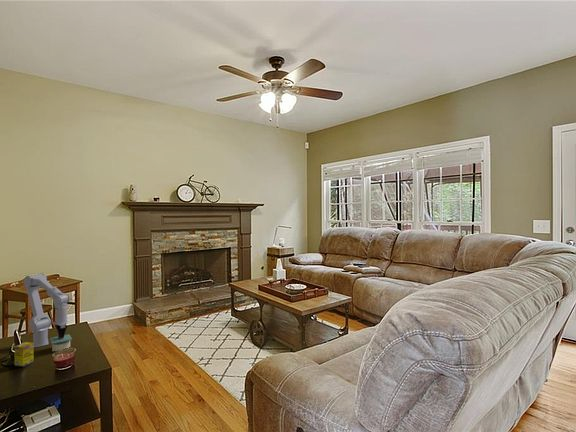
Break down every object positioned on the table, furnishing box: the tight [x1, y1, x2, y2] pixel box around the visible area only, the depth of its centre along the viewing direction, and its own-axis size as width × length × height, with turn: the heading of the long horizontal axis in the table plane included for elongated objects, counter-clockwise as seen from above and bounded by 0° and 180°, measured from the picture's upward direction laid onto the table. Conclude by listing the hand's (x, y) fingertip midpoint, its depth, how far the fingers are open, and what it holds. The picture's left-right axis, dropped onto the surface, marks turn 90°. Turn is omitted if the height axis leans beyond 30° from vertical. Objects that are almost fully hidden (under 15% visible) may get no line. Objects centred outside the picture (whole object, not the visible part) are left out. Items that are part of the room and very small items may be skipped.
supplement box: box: [13, 341, 35, 368], centre depth 174 cm, size 6×6×11 cm
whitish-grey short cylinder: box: [51, 341, 71, 352], centre depth 194 cm, size 9×9×4 cm
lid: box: [49, 333, 73, 345], centre depth 194 cm, size 10×10×5 cm
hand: (61, 336), depth 194 cm, fingers closed on lid, 3 cm apart
